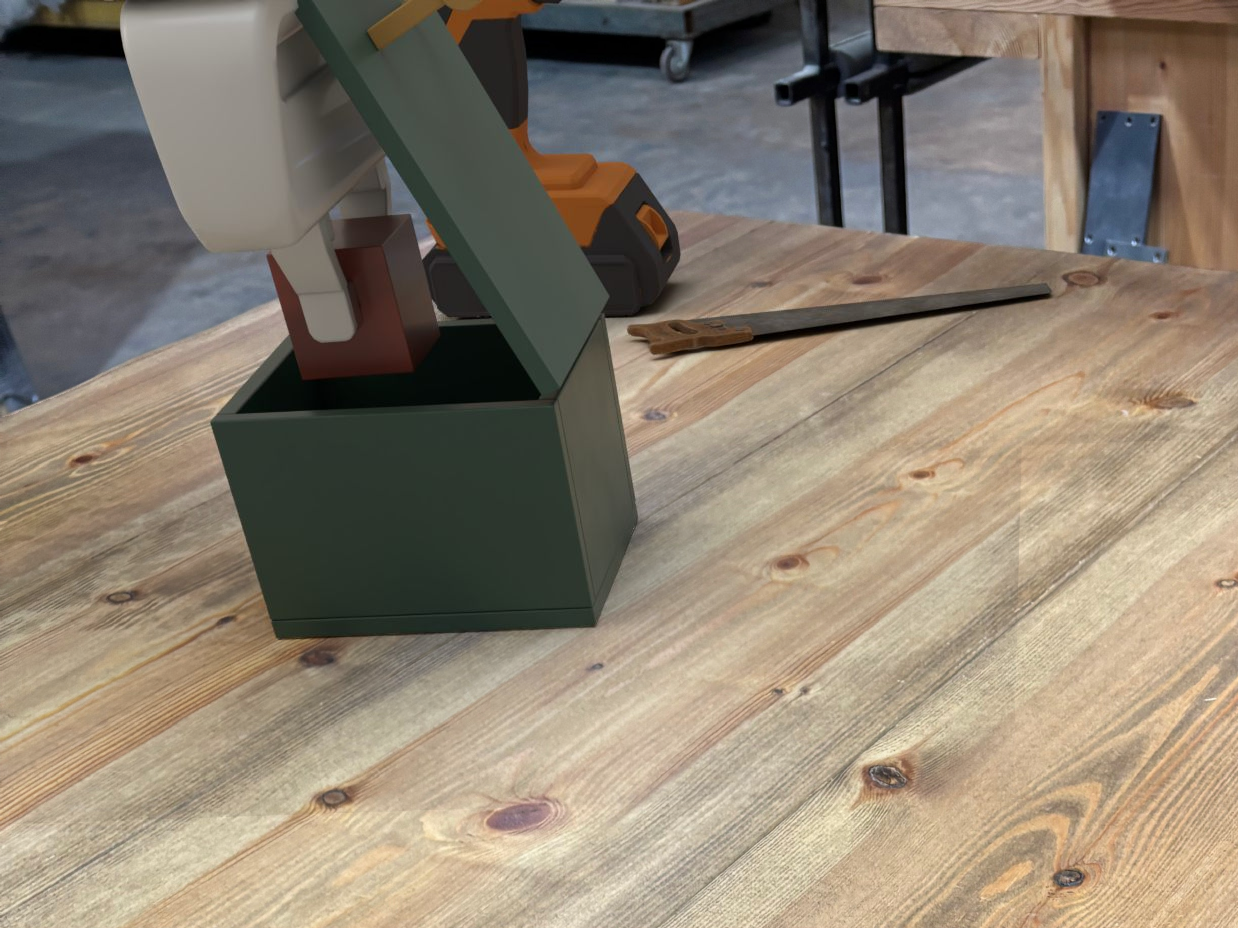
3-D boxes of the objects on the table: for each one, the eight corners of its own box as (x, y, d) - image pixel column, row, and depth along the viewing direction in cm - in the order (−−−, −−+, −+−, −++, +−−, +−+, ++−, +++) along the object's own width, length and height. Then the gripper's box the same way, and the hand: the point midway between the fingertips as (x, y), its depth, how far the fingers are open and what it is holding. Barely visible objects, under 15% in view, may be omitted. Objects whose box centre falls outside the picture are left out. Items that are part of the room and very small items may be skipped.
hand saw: (1030, 275, 114) (1030, 262, 113) (1057, 296, 110) (1057, 283, 110) (626, 334, 109) (624, 322, 109) (641, 358, 106) (639, 345, 105)
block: (302, 380, 78) (265, 255, 75) (333, 344, 81) (299, 222, 78) (414, 372, 77) (381, 245, 74) (441, 335, 81) (411, 213, 78)
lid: (288, 5, 66) (418, -89, 64) (375, -53, 75) (492, -137, 73) (543, 398, 74) (664, 325, 73) (594, 305, 83) (704, 238, 81)
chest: (275, 639, 81) (208, 421, 75) (348, 531, 90) (293, 327, 84) (596, 626, 81) (553, 405, 75) (638, 518, 89) (604, 312, 83)
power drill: (787, 275, 116) (731, -256, 99) (766, 314, 111) (703, -241, 94) (440, 285, 119) (327, -232, 102) (403, 324, 113) (277, -216, 96)
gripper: (249, -139, 77) (351, 246, 86) (53, -52, 62) (203, 403, 71) (405, -154, 76) (491, 235, 85) (246, -70, 61) (371, 391, 70)
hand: (359, 313), depth 78 cm, fingers closed on block, 5 cm apart
